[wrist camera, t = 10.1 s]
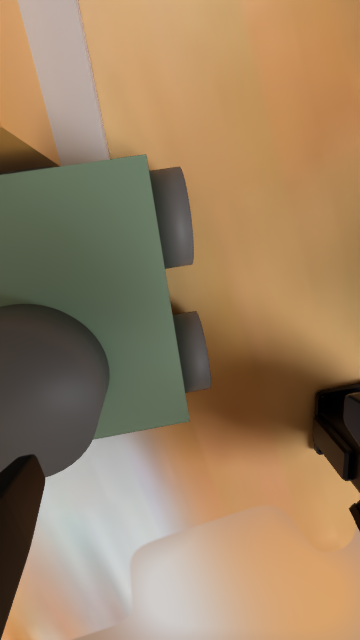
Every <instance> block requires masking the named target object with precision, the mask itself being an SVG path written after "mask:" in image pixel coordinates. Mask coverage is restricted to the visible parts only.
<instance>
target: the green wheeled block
mask: <svg viewBox="0 0 360 640" xmlns="http://www.w3.org/2000/svg"><path fill="white" fill-rule="evenodd" d="M18 4H19V8H20V12H21V15H22V19H23V23H24V27H25V31H26V34H27V38H28V42H29V46H30V50H31V53H32V57H33V61H34V65H35V69H36V72H37V76H38V80H39V84H40V88H41V91H42V95H43V99H44V103H45V107H46V110H47V114H48V118H49V122H50V126H51V129H52V133H53V137H54V141H55V145H56V148H57V152H58V156H59V160H60V164H61V166H60V167H52V166H46V167H39V168H32V169H25V170H18V171H11V172H4V173H0V472H1V471H2V470H3V469H5V468H6V467H7V466H8V465H9V464H10V463H12V462H13V461H14V460H15V459H16V458H18V457H20V456H24V455H29V454H34V455H36V456H37V458H38V461H39V463H40V465H41V468H42V470H43V472H44V475H45V477H48V476H51V475H54V474H56V473H58V472H60V471H62V470H64V469H65V468H67V467H69V466H70V465H72V464H73V463H74V462H75V461H76V460H78V459H79V458H80V457H81V456H82V455H83V453H84V452H85V451H86V450H87V448H88V447H89V445H90V444H91V442H92V440H93V439H98V438H104V437H109V436H114V435H120V434H125V433H130V432H136V431H141V430H147V429H152V428H157V427H163V426H168V425H173V424H179V423H184V422H189V421H190V419H189V413H188V407H187V401H186V395H185V393H187V392H192V391H198V390H203V389H209V388H210V387H211V376H210V366H209V359H208V353H207V348H206V343H205V338H204V333H203V329H202V325H201V322H200V319H199V316H198V313H197V312H196V311H194V312H188V313H182V314H176V315H172V309H171V303H170V297H169V291H168V285H167V279H166V272H165V269H167V268H173V267H179V266H185V265H192V263H193V258H194V245H193V230H192V220H191V212H190V205H189V199H188V193H187V188H186V183H185V179H184V175H183V172H182V170H181V168H180V167H173V168H166V169H160V170H153V171H149V168H148V162H147V156H146V154H145V155H138V156H131V157H124V158H117V159H110V156H109V151H108V146H107V141H106V136H105V131H104V126H103V122H102V117H101V112H100V107H99V102H98V97H97V92H96V87H95V82H94V77H93V72H92V68H91V63H90V58H89V53H88V48H87V43H86V38H85V33H84V28H83V23H82V18H81V13H80V9H79V4H78V0H18Z"/></svg>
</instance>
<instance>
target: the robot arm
mask: <svg viewBox="0 0 360 640" xmlns="http://www.w3.org/2000/svg"><path fill="white" fill-rule="evenodd" d="M322 396H324V397H323V398H321V397H322ZM313 441H314V450H315V451H316V453H317V454H319V455H322V454H324V456H325V457H326V458H327V460H328V461H329V462H330V463H331V465H332V466H333V467H334V469H335V470H336V471H337V473H338V474H339V475H340V477H341V478H342V479H343V480H345V481H351V482H352V484H353V485H354V486H355V487H356V489H357V490H358V491H359V492H360V383H359V384H354V385H348V386H343V387H337V388H332V389H327V390H321V391H319V392H317V394H316V396H315V416H314V418H313ZM44 486H45V475H44V472H43V470H42V468H41V465H40V463H39V461H38V458H37V456H36V455H34V454H29V455H24V456H20V457H18V458H16V459H15V460H14V461H13V462H12V463H10V464H9V465H8V466H7V467H6V468H5V469H3V470H2V471H1V472H0V640H1V637H2V634H3V631H4V628H5V625H6V622H7V619H8V616H9V613H10V609H11V606H12V603H13V600H14V597H15V594H16V591H17V588H18V585H19V582H20V579H21V575H22V572H23V569H24V566H25V563H26V560H27V557H28V553H29V550H30V547H31V543H32V539H33V535H34V530H35V526H36V521H37V517H38V513H39V508H40V504H41V499H42V495H43V491H44ZM349 510H350V512H351V514H352V516H353V518H354V520H355V523H356V525H357V527H358V529H359V531H360V500H359V501H358V502H357V503H354V504H353V505H352V506H351V507H350V508H349Z"/></svg>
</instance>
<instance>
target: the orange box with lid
mask: <svg viewBox="0 0 360 640" xmlns="http://www.w3.org/2000/svg"><path fill="white" fill-rule="evenodd" d="M46 166H52V167H60V166H61V164H60V160H59V156H58V152H57V148H56V145H55V141H54V137H53V133H52V129H51V126H50V122H49V118H48V114H47V110H46V107H45V103H44V99H43V95H42V91H41V88H40V84H39V80H38V76H37V72H36V69H35V65H34V61H33V57H32V53H31V50H30V46H29V42H28V38H27V34H26V31H25V27H24V23H23V19H22V15H21V12H20V8H19V4H18V0H0V173H4V172H11V171H18V170H25V169H32V168H39V167H46Z"/></svg>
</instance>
